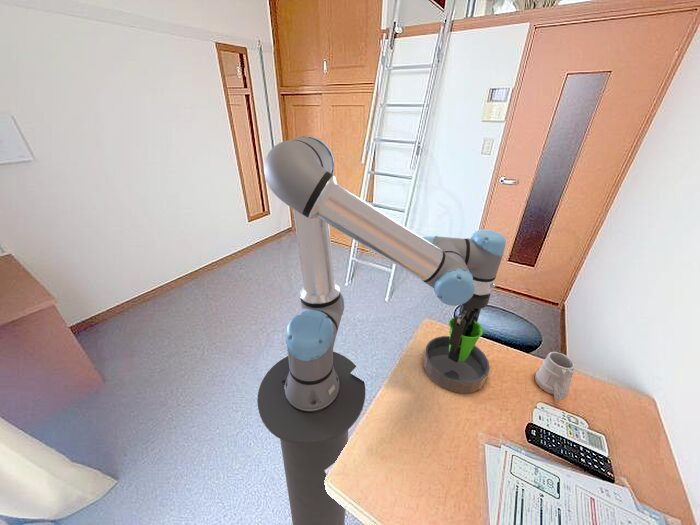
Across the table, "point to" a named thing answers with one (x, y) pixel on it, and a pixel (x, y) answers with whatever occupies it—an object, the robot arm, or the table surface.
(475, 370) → the pan
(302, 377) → the robot arm
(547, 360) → the mug
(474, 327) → the cup
